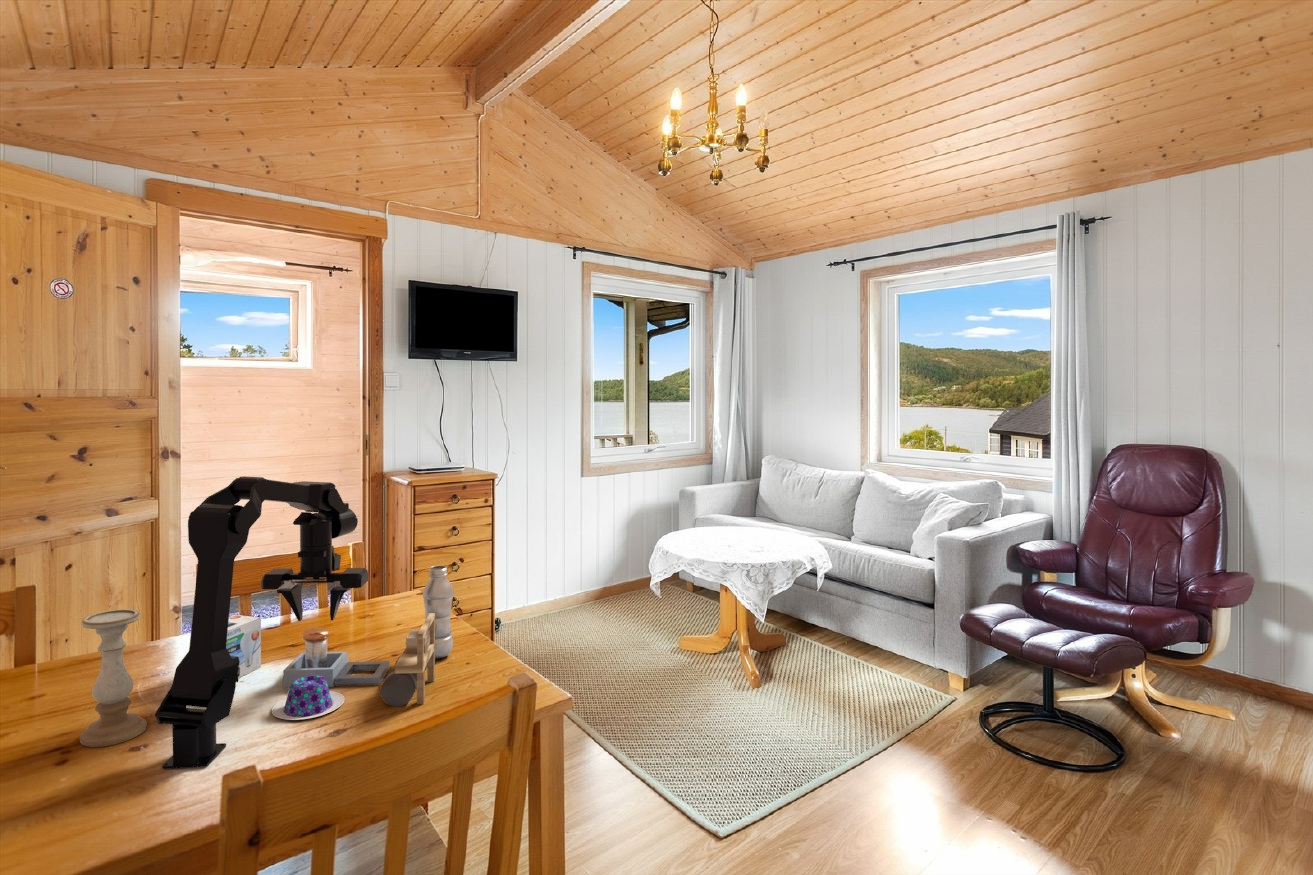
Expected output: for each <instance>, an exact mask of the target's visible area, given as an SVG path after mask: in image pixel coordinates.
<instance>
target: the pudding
mask: <svg viewBox="0 0 1313 875" xmlns="http://www.w3.org/2000/svg"><path fill="white" fill-rule="evenodd" d="M329 688H330V687H328V685H327V681H326V679H325V678H324V677H322V676H318V675H312V676H304V677H302V678H299V679H296V680H295V681H294V682H293V683H292V684H291V686H290V688H288V693H287V696H286V697H285V698H282V699H281V700H279V701H277V702H276V703H275V704H274V706H272V708H271V713H272V715H273V717H276V718H278V719H282V720H288V721H289V720H290V721H296V720H297V721H299V720H301V721H302V720H306V719H307V720H308V719H313V718H317V717H321V716H324V715H326V714H328V713H331V712H333V711H335V710H337V709H338V708H339V707H341V706H343V703H344V702H345V696H344V695H343V694H341V693H339V692H338V691H334V690H329ZM286 714H287V715H286Z"/></svg>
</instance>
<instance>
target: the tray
mask: <svg viewBox="0 0 1313 875" xmlns="http://www.w3.org/2000/svg"><path fill="white" fill-rule="evenodd" d="M348 656H349V654H348V651H327V668H305V652H300V653H299V654H298V655H297V656H296V657H295V658H294V659H293V660H292V661H291V662H290V663H289V664H288V665H287V666H286V667H285V668H284V669H283V671H282V673H283V676H282V677H283V682H282V684H283V685H282V686H283V690H284V689H289V688H290V686H291V684H292V683H293V682H294V681H295V680H296V679H299V678H302V677H304V676H312V675H318V676H322V677H324V678H325V679H326V681H327V685H328V688H334V687H335V686H334V679H335V677H336V676H337V675H338V674H339V672H340V671H341V670H342V669H343V667H344V666H345V665H346V664H347V663H348V662H349V658H348Z"/></svg>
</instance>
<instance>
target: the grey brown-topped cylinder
mask: <svg viewBox="0 0 1313 875" xmlns="http://www.w3.org/2000/svg"><path fill="white" fill-rule="evenodd" d="M329 637H330V629H329V628H327V627H314V628H310V629H309V628H308V629H307V630H304V631H303V633H302V639H303V640H304V641H305V642H304V646H305V647H304V648H305V651H304V653H305V668H327V652H328V638H329Z"/></svg>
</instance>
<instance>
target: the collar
mask: <svg viewBox="0 0 1313 875" xmlns="http://www.w3.org/2000/svg"><path fill="white" fill-rule="evenodd" d="M390 669H391V661H390V660H380V661H379V660H376V661H375V660H374V661H370V660H369V661H348V663H347V664H346V665H345V666H344V667H343V669H342V670H341V671H340V672H339V674H338V675H337V676H336V677H335V679H334V686H333V687H347V686H348V687H351V686H352V687H355V686H356V687H357V686H379V685H380V684H382V681H384V679H385V677H386V675H387V674H388V671H389V670H390ZM353 672H355V673H356V672H360V673H361V672H374V674H353Z"/></svg>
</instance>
